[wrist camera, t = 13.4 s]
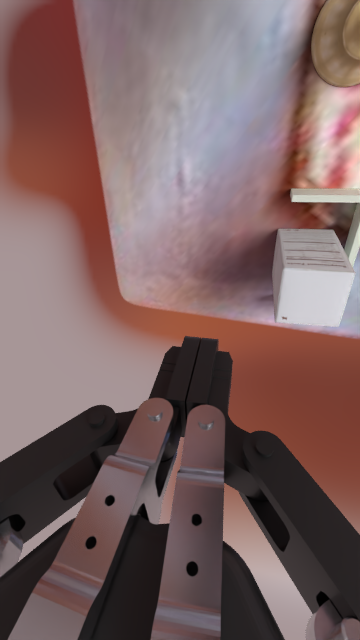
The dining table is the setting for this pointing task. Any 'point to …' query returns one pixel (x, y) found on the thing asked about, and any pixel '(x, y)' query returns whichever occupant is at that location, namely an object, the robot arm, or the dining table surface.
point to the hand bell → (338, 43)
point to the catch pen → (356, 236)
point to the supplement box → (310, 277)
